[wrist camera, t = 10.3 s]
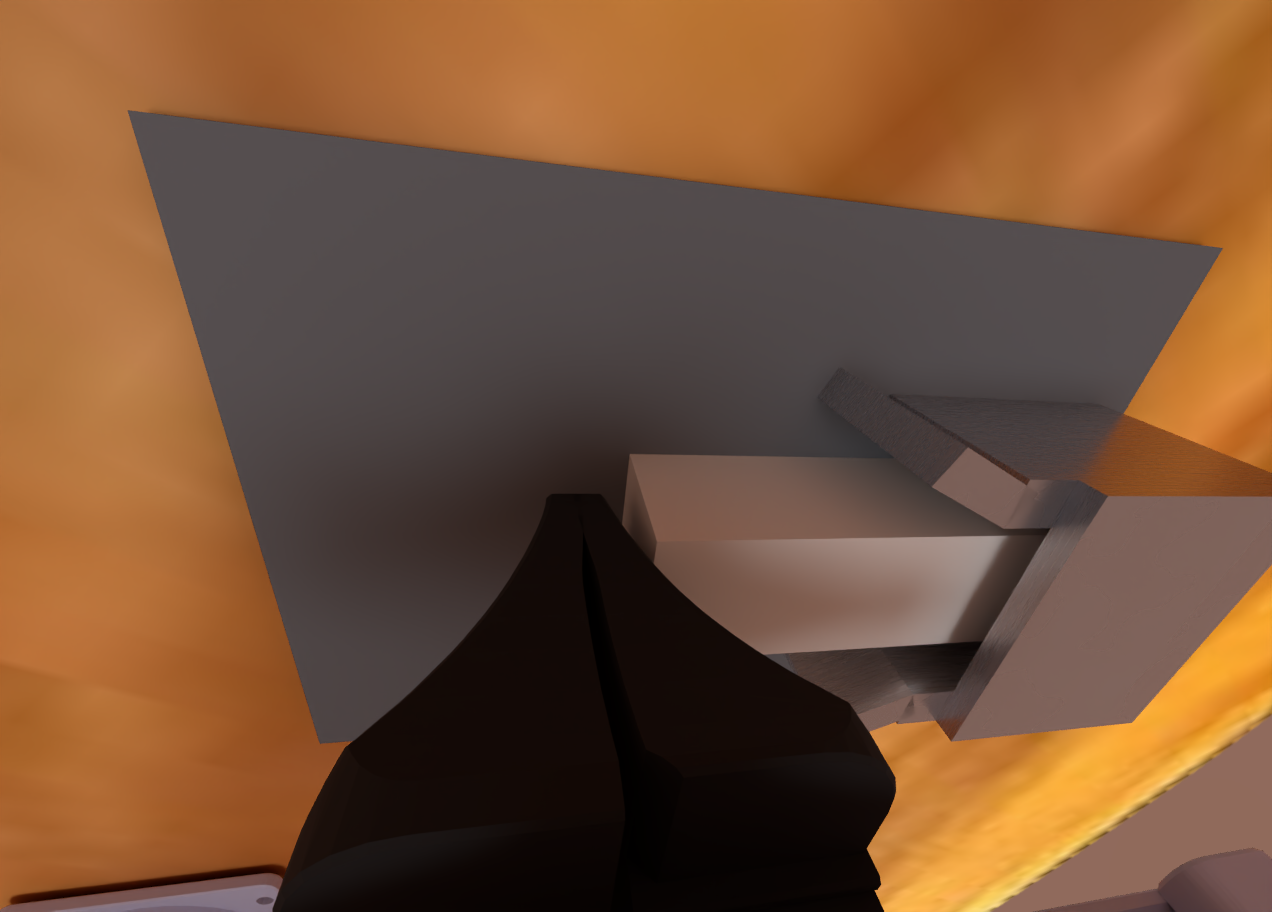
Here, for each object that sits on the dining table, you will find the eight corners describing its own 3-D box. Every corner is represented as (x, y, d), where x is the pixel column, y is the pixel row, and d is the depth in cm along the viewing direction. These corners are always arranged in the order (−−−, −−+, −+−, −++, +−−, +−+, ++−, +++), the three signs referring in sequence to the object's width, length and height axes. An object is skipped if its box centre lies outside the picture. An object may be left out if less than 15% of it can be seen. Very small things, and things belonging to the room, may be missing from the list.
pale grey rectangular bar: (618, 558, 13) (639, 662, 10) (629, 453, 11) (657, 541, 9) (986, 550, 15) (1088, 634, 12) (1033, 460, 13) (1161, 533, 11)
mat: (948, 681, 19) (956, 691, 18) (325, 730, 15) (320, 743, 14) (1202, 246, 12) (1222, 248, 11) (147, 114, 8) (127, 110, 7)
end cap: (982, 605, 16) (1118, 737, 12) (753, 616, 15) (827, 769, 11) (1109, 382, 13) (1355, 469, 9) (826, 366, 11) (973, 462, 7)
